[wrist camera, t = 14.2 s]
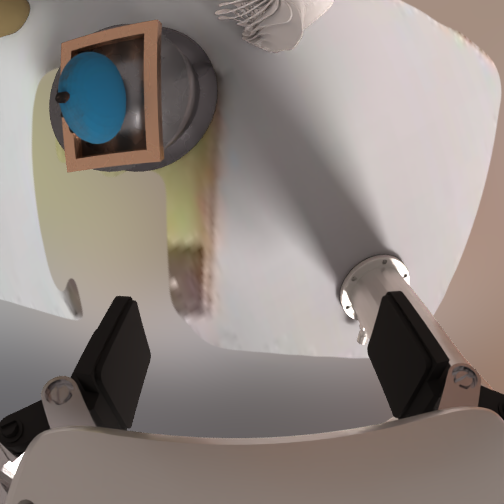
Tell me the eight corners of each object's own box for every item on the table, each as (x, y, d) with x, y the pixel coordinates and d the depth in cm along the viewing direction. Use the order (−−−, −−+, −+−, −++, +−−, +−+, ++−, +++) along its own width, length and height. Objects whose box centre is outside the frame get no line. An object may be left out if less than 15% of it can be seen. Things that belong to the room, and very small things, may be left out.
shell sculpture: (250, -5, 26) (262, -78, 10) (308, 26, 29) (364, -26, 13) (215, 44, 29) (199, -7, 13) (275, 74, 32) (311, 47, 16)
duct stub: (218, 165, 37) (212, 189, 26) (83, 176, 36) (39, 203, 25) (217, 21, 28) (211, -12, 18) (77, 45, 27) (28, 33, 17)
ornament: (85, 66, 21) (24, 58, 12) (127, 51, 21) (78, 30, 12) (99, 143, 25) (42, 166, 16) (141, 131, 25) (96, 146, 16)
